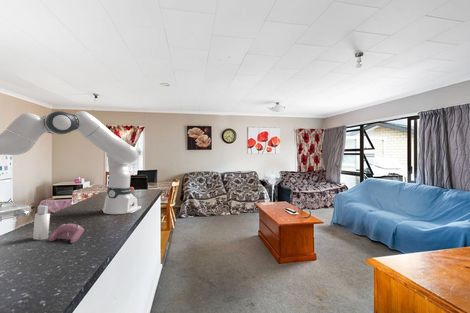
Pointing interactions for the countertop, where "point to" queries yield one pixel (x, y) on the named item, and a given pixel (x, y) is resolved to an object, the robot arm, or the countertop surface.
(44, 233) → the white bottle
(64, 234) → the video game controller
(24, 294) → the countertop surface
